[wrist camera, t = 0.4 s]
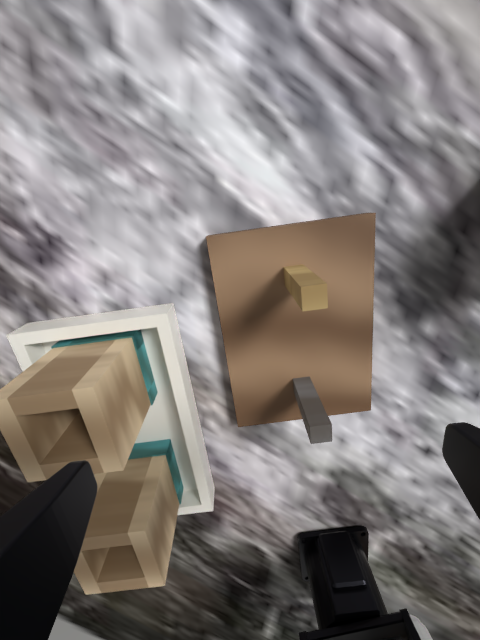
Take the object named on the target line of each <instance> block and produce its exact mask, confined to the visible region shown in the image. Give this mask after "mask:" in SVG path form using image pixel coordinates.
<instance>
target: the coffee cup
mask: <svg viewBox="0 0 480 640" xmlns="http://www.w3.org/2000/svg"><path fill="white" fill-rule="evenodd" d="M410 617H411V620H412V622H413V624H414V626H415V628H416V630H417V632H418V634H419V636H420V639H421V640H432V638H431V636H430V634H429V632H428V630H427V628H426V626H425V625H423V624H422V623H421V621H420V620H419V619H418V618H417V617H415V616H413V615H410Z"/></svg>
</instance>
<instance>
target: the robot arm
mask: <svg viewBox="0 0 480 640" xmlns="http://www.w3.org/2000/svg"><path fill="white" fill-rule="evenodd" d="M442 452H443V457H444V459H445V461H446V463H447V465H448V466H449V468H450V470H451V471H452V473H453V475H454V477H455V478H456V480H457V482H458V483H459V485H460V487H461V489H462V490H463V492H464V494H465V495H466V497H467V499H468V501H469V502H470V504H471V506H472V508H473V509H474V511H475V513H476V514H477V516H478V518H479V519H480V428H477V427H475V426H473V425H471V424H468V423H464V422H462V423H452V424H448V425H447V427H446V429H445V435H444V442H443V448H442ZM96 495H97V482H96V479H95V476H94V474H93V471H92V468H91V465H90V463H89V462H88V461H86V460H81V461H72V462H70V463H68V464H67V465H65V466H64V467H63V468H61V469H60V470H59V471H58V472H56V473H55V474H54V475H53V476H51V477H50V478H49V479H47V480H46V481H45V482H44V483H42V484H41V485H40V486H39V487H37V488H36V489H35V490H33V491H32V492H31V493H30V494H28V495H27V496H26V497H25V498H23V499H22V500H21V501H19V502H18V503H17V504H16V505H14V506H13V507H12V508H11V509H9V510H8V511H7V512H5V513H4V514H3V515H2V516H0V640H48V638H49V635H50V633H51V630H52V627H53V625H54V622H55V619H56V617H57V614H58V612H59V609H60V606H61V604H62V601H63V599H64V596H65V593H66V591H67V588H68V585H69V583H70V580H71V578H72V575H73V572H74V569H75V567H76V564H77V561H78V558H79V554H80V551H81V548H82V544H83V541H84V537H85V534H86V530H87V527H88V523H89V520H90V516H91V513H92V509H93V506H94V502H95V499H96ZM298 545H299V555H300V565H301V575H302V579H303V580H304V581H309V584H310V589H311V594H312V598H313V603H314V608H315V613H316V618H317V623H318V628H319V630H315V631H310V632H306V631H303V632H299V637H300V640H421V639H420V636H419V634H418V632H417V630H416V628H415V626H414V624H413V622H412V620H411V617H410V615H409V613H408V611H407V609H401V610H399V611H400V612H395V613H391V614H388V613H387V610H386V607H385V605H384V602H383V600H382V597H381V594H380V592H379V589H378V587H377V584H376V581H375V579H374V576H373V574H372V571H371V569H370V566H369V563H368V531H367V528H366V527H364V526H359V527H351V528H342V529H334V530H325V531H317V532H308V533H301V534H299V535H298Z"/></svg>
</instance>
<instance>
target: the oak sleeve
mask: <svg viewBox="0 0 480 640" xmlns="http://www.w3.org/2000/svg"><path fill="white" fill-rule="evenodd" d="M51 348H52V349H51V350H50V351H49V352H48V353H46V354H45V355H44V356H42V357H41V358H40V359H39V360H37V361H36V362H35V363H34V364H32V365H31V366H30V367H28V368H27V369H26V370H25V371H23V372H22V373H21V374H19V375H18V376H17V377H16V378H14V379H13V380H12V381H11V382H9V383H8V384H7V385H5V386H4V387H3V388H2V389H0V430H1V432H2V434H3V436H4V438H5V440H6V442H7V444H8V446H9V448H10V450H11V452H12V453H13V455H14V457H15V459H16V461H17V463H18V465H19V467H20V469H21V471H22V473H23V475H24V477H25V479H26V480H27V482H35V481H43V480H47V479H49V478H50V477H51V476H53V475H54V474H55V473H56V472H58V471H59V470H60V469H61V468H63V467H64V466H65V465H67V464H68V463H70V462H72V461H81V460H86V461H88V462H89V463H90V465H91V468H92V471H93V474H99V473H107V472H115V471H123V470H124V468H125V465H126V463H127V461H128V458H129V456H130V453H131V451H132V448H133V446H134V444H135V441H136V439H137V436H138V434H139V432H140V429H141V427H142V424H143V422H144V419H145V417H146V415H147V412H148V410H149V407H150V405H153V403H154V401H155V398H156V396H157V393H158V391H157V388H156V384H155V380H154V377H153V373H152V369H151V366H150V362H149V358H148V355H147V351H146V347H145V344H144V340H143V336H142V333H141V329H140V330H133V331H125V332H118V333H110V334H103V335H96V336H88V337H81V338H73V339H66V340H59V341H58V342H57V343H55V344H54V345H53V346H52V347H51Z"/></svg>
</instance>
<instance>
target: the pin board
mask: <svg viewBox="0 0 480 640" xmlns="http://www.w3.org/2000/svg"><path fill="white" fill-rule="evenodd" d="M375 214H376V213H363V214H356V215H349V216H342V217H335V218H328V219H321V220H314V221H306V222H299V223H292V224H285V225H278V226H271V227H264V228H257V229H250V230H243V231H236V232H229V233H222V234H215V235H208V236H206V240H207V246H208V252H209V258H210V264H211V270H212V276H213V282H214V287H215V293H216V299H217V305H218V311H219V317H220V323H221V329H222V335H223V341H224V347H225V353H226V358H227V364H228V370H229V376H230V382H231V388H232V394H233V400H234V406H235V412H236V418H237V424H238V427H243V426H251V425H259V424H266V423H274V422H282V421H290V420H298V419H303V421H304V424H305V427H306V430H307V433H308V436H309V439H310V442H311V444H314V443H322V442H330V441H332V424H331V422H330V420H329V417H328V416H330V415H338V414H345V413H353V412H361V411H369V410H371V379H372V338H373V297H374V255H375Z"/></svg>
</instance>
